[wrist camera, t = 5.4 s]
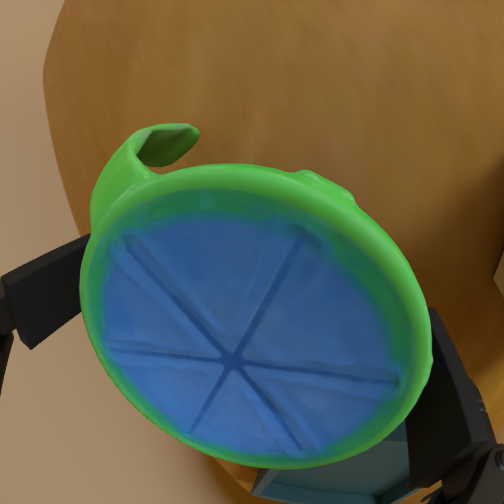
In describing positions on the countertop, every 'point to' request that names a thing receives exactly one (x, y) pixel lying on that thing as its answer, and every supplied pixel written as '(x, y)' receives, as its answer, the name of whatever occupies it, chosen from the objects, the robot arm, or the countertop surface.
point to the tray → (345, 477)
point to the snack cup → (250, 307)
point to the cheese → (500, 275)
